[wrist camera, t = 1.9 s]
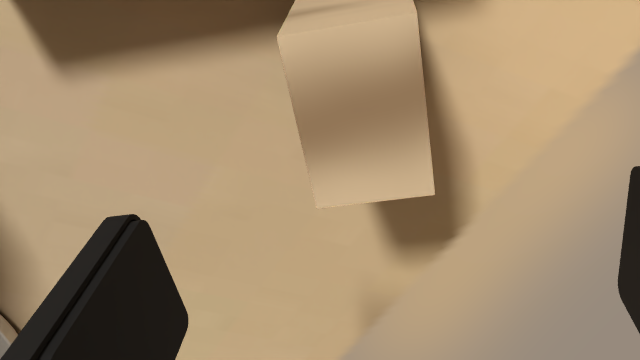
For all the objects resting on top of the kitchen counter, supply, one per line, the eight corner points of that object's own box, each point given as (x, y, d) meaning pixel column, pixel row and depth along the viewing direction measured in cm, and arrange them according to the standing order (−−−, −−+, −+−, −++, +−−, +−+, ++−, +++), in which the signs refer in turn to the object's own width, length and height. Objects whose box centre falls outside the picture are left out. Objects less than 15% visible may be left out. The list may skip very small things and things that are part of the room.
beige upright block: (414, 93, 25) (435, 194, 18) (331, 105, 26) (316, 208, 18) (400, -40, 22) (417, 12, 15) (307, -23, 23) (276, 36, 15)
